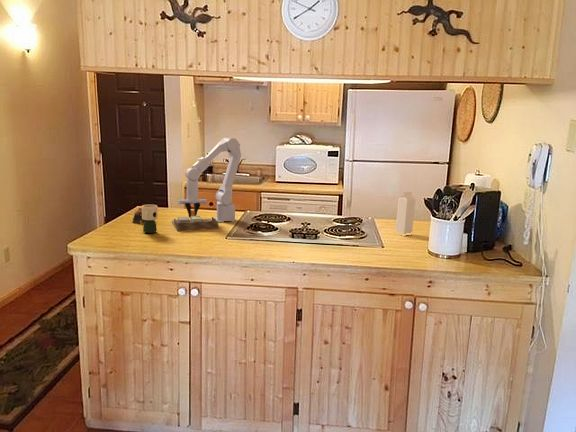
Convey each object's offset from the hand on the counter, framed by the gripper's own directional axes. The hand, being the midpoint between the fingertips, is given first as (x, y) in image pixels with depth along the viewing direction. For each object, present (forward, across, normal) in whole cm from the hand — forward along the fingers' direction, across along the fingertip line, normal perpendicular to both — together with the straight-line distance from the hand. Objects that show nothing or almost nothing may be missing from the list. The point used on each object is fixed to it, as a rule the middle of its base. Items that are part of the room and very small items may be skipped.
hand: (192, 217), depth 260 cm
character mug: (+3, -23, -15) cm, 28 cm away
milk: (+3, +99, -45) cm, 109 cm away
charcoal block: (+3, -6, -10) cm, 12 cm away
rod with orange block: (+2, 0, -6) cm, 6 cm away
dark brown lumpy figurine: (+3, -24, +6) cm, 25 cm away
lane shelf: (+3, 0, -6) cm, 7 cm away
